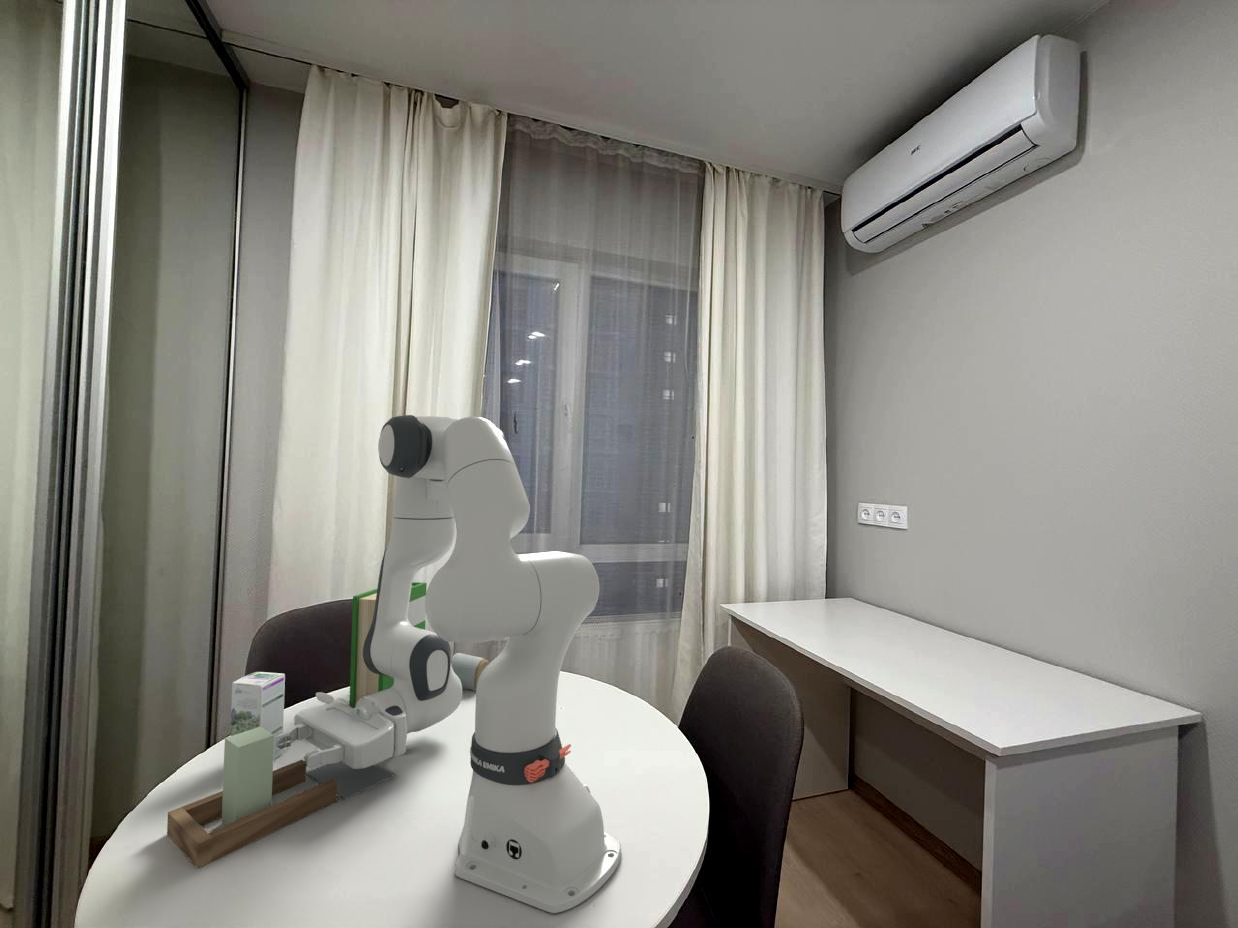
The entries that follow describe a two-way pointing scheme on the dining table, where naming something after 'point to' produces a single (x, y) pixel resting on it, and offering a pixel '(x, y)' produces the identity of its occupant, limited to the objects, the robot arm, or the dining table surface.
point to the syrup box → (259, 704)
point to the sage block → (247, 774)
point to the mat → (349, 777)
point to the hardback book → (362, 617)
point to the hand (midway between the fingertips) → (291, 752)
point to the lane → (250, 828)
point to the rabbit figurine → (329, 699)
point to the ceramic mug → (468, 669)
